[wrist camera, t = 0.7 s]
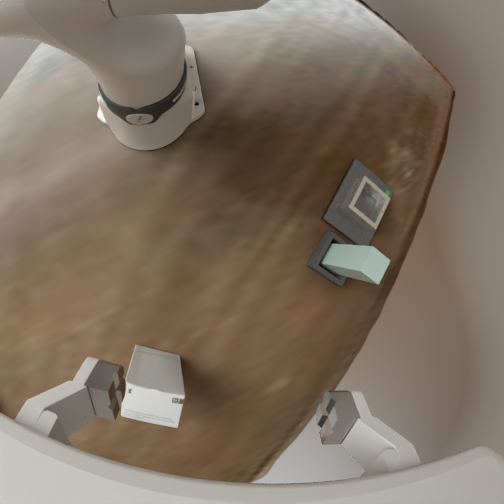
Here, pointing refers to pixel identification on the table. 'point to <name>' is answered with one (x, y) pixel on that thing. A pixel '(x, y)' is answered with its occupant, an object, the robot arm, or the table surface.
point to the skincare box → (154, 387)
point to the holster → (319, 254)
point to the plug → (355, 262)
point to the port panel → (358, 204)
